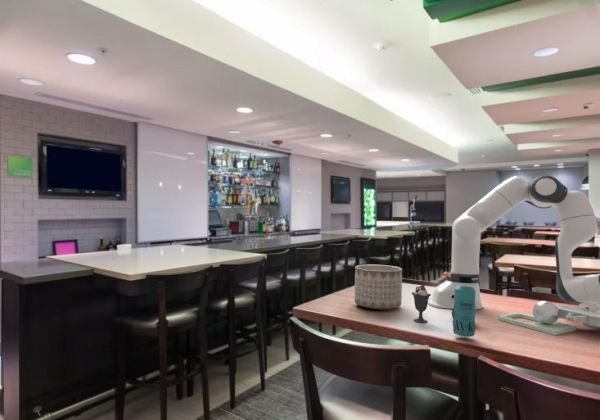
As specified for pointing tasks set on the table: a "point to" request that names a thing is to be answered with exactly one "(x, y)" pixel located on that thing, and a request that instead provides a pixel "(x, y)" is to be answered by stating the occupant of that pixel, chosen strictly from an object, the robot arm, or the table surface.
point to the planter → (378, 286)
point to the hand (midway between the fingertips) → (570, 318)
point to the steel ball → (545, 312)
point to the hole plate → (538, 324)
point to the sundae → (421, 301)
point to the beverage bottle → (464, 308)
